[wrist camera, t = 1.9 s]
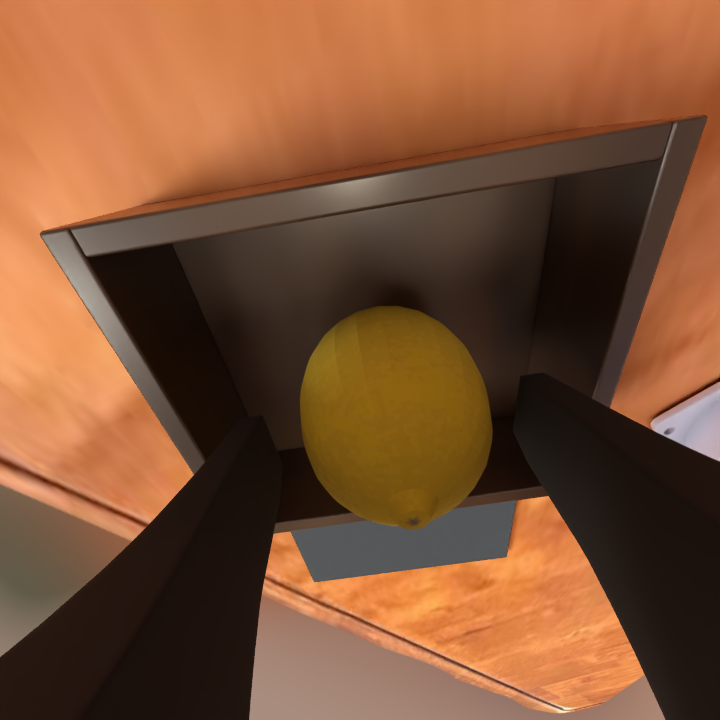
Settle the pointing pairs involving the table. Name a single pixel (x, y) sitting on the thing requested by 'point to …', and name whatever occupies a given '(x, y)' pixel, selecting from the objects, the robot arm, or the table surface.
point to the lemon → (395, 416)
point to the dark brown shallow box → (387, 283)
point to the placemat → (406, 543)
